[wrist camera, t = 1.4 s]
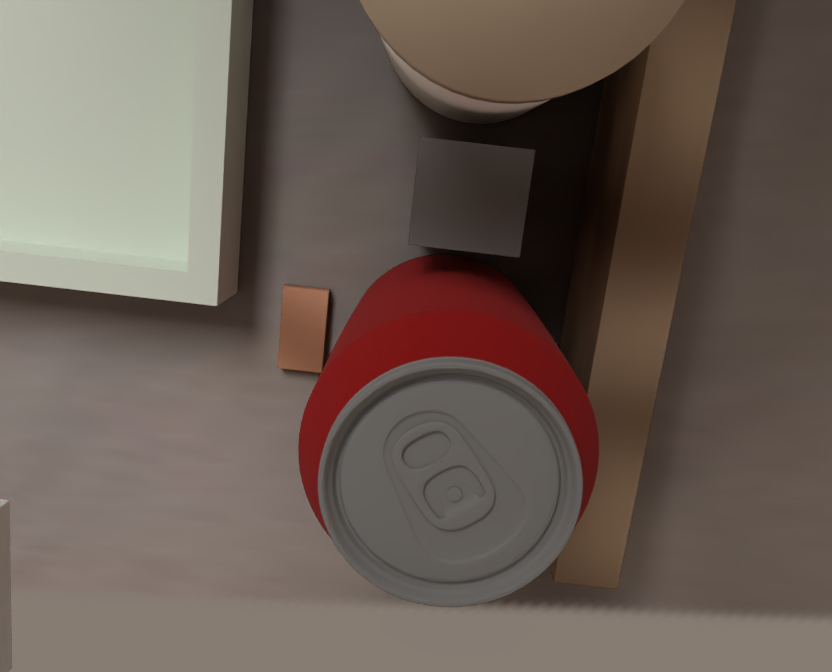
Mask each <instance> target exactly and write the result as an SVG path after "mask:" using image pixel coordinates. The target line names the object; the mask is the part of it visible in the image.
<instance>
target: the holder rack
mask: <svg viewBox="0 0 832 672" xmlns="http://www.w3.org/2000/svg"><path fill="white" fill-rule="evenodd" d="M735 5H736V0H685V1H684V2H683V4H682V5H681V7H680V8H679V10H678V11H677V12H676V14H675V15H674V17H673V18H672V20H671V21H670V22H669V24H668V25H667V26H666V27H665V28H664V29H663V30H662V32H661V33H660V34H659V35H658V36H657V37H656V39H655V40H654V41H653V42H652V43H651V44H649V45H648V46H647V47H646V48H645V49H644V50H643V51H642V52H641V53H639V54H638V55H637V56H636V57H635V58H634V59H632V60H631V61H629V62H628V63H627V64H625V65H624V66H622V67H621V68H620V69H618V70H617V71H615V72H614V73H612V74H610V75H608V76H606V77H604V81H603V87H602V93H601V99H600V105H599V111H598V117H597V123H596V129H595V135H594V141H593V147H592V153H591V159H590V165H589V171H588V177H587V183H586V189H585V195H584V201H583V207H582V213H581V219H580V225H579V231H578V237H577V243H576V249H575V255H574V261H573V267H572V273H571V279H570V285H569V291H568V297H567V303H566V309H565V315H564V321H563V327H562V333H561V339H560V345H559V349H560V350H561V352H562V353H563V355H564V356H565V358H566V360H567V361H568V363H569V364H570V366H571V368H572V369H573V371H574V372H575V374H576V376H577V377H578V379H579V380H580V382H581V384H582V386H583V388H584V390H585V391H586V393H587V396H588V398H589V401H590V403H591V405H592V409H593V412H594V415H595V419H596V424H597V429H598V437H599V462H598V470H597V476H596V481H595V484H594V488H593V491H592V494H591V497H590V499H589V502H588V505H587V507H586V509H585V511H584V513H583V515H582V517H581V518H580V520H579V522H578V523H577V525H576V527H575V528H574V530H573V532H572V534H571V536H570V538H569V540H568V542H567V543H566V545H565V547H564V549H563V550H562V551H561V553H560V554H559V555H558V556H557V558H556V559H555V560H554V561H553V563H552V564H551V565H550V566H549V567H550V570H551V574H552V577H553V581H554V582H558V583H567V584H576V585H584V586H593V587H602V588H611V589H617V587H618V582H619V577H620V572H621V567H622V562H623V557H624V552H625V547H626V542H627V538H628V533H629V528H630V523H631V518H632V513H633V508H634V503H635V498H636V493H637V488H638V483H639V478H640V474H641V469H642V464H643V459H644V454H645V449H646V444H647V439H648V434H649V429H650V424H651V419H652V414H653V409H654V405H655V400H656V395H657V390H658V385H659V380H660V375H661V370H662V365H663V360H664V355H665V350H666V345H667V340H668V336H669V331H670V326H671V321H672V316H673V311H674V306H675V301H676V296H677V291H678V286H679V281H680V276H681V271H682V267H683V262H684V257H685V252H686V247H687V242H688V237H689V232H690V227H691V222H692V217H693V212H694V207H695V203H696V198H697V193H698V188H699V183H700V178H701V173H702V168H703V163H704V158H705V153H706V148H707V143H708V138H709V134H710V129H711V124H712V119H713V114H714V109H715V104H716V99H717V94H718V89H719V84H720V79H721V74H722V69H723V65H724V60H725V55H726V50H727V45H728V40H729V35H730V30H731V25H732V20H733V15H734V10H735ZM534 156H535V150H531V149H522V148H514V147H505V146H497V145H488V144H480V143H471V142H463V141H454V140H445V139H437V138H428V137H420V141H419V150H418V159H417V168H416V177H415V186H414V195H413V204H412V213H411V222H410V231H409V240H408V245H416V246H425V247H433V248H442V249H450V250H459V251H468V252H476V253H485V254H493V255H502V256H510V257H520V251H521V244H522V237H523V230H524V224H525V217H526V210H527V204H528V197H529V190H530V183H531V177H532V170H533V163H534ZM329 297H330V289H322V288H314V287H305V286H296V285H288V284H285V285H284V286H283V297H282V311H281V325H280V339H279V353H278V367H277V368H283V369H292V370H301V371H309V372H318V373H321V372H322V370H323V367H324V355H325V343H326V332H327V320H328V309H329Z"/></svg>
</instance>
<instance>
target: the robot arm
mask: <svg viewBox="0 0 832 672" xmlns="http://www.w3.org/2000/svg"><path fill="white" fill-rule="evenodd" d="M11 632H12V627H11V563H10V501H9V500H3V499H0V672H9V671H10V669H11V668H12V633H11Z"/></svg>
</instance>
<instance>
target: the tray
mask: <svg viewBox="0 0 832 672" xmlns="http://www.w3.org/2000/svg"><path fill="white" fill-rule="evenodd" d="M252 18H253V0H0V281H4V282H13V283H22V284H30V285H39V286H47V287H56V288H65V289H73V290H82V291H91V292H99V293H108V294H116V295H125V296H134V297H142V298H151V299H160V300H168V301H177V302H185V303H194V304H203V305H211V306H218V305H219V304H221V303H222V302H224V301H225V300H227V299H228V298H230V297H231V296H233V295H234V294H236V293H237V288H238V270H239V252H240V234H241V216H242V198H243V180H244V162H245V144H246V126H247V108H248V90H249V72H250V54H251V36H252Z"/></svg>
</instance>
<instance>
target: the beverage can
mask: <svg viewBox="0 0 832 672" xmlns="http://www.w3.org/2000/svg"><path fill="white" fill-rule="evenodd" d="M298 448H299V466H300V473H301V478H302V483H303V486H304V489H305V492H306V495H307V498H308V500H309V503H310V505H311V507H312V509H313V511H314V513H315V515H316V517H317V519H318V521H319V522H320V524H321V525H322V527H323V528H324V530H325V531H326V532H327V534H328V535H329V536H330V538H331V539H332V541H333V542H334V544H335V546H336V547H337V549H338V550H339V552H340V553H341V554H342V556H343V557H344V558H345V559H346V560H347V562H348V563H349V564H350V565H351V566H352V567H353V568H354V569H355V570H356V571H357V572H358V573H359V574H361V575H362V576H363V577H364V578H365V579H367V580H368V581H369V582H371V583H372V584H374V585H375V586H377V587H379V588H380V589H382V590H384V591H386V592H388V593H390V594H392V595H395V596H397V597H399V598H402V599H405V600H408V601H411V602H415V603H419V604H424V605H429V606H439V607H462V606H471V605H477V604H482V603H486V602H489V601H493V600H496V599H499V598H501V597H504V596H506V595H508V594H511V593H513V592H515V591H517V590H519V589H520V588H522V587H524V586H525V585H527V584H528V583H530V582H531V581H533V580H534V579H535V578H537V577H538V576H539V575H540V574H541V573H542V572H544V571H545V570H546V569H547V568H548V567H549V566H550V565H551V564H552V563H553V561H554V560H555V559H556V558H557V556H558V555H559V554H560V553H561V551H562V550H563V549H564V547H565V545H566V543H567V542H568V540H569V538H570V536H571V534H572V532H573V530H574V528H575V527H576V525H577V523H578V522H579V520H580V518H581V517H582V515H583V513H584V511H585V509H586V507H587V505H588V502H589V499H590V497H591V494H592V491H593V488H594V484H595V481H596V476H597V470H598V462H599V437H598V429H597V424H596V419H595V415H594V412H593V409H592V405H591V403H590V401H589V398H588V396H587V393H586V391H585V390H584V388H583V386H582V384H581V382H580V380H579V379H578V377H577V376H576V374H575V372H574V371H573V369H572V368H571V366H570V364H569V363H568V361H567V360H566V358H565V356H564V355H563V353H562V352H561V350H560V349H559V347H558V345H557V344H556V342H555V341H554V339H553V338H552V336H551V335H550V333H549V332H548V330H547V329H546V327H545V326H544V324H543V323H542V321H541V320H540V319H539V317H538V316H537V314H536V313H535V312H534V310H533V309H532V307H531V306H530V305H529V303H528V302H527V301H526V299H525V298H524V297H523V296H522V294H521V293H520V292H519V290H518V289H517V288H516V287H515V286H514V285H513V283H512V282H511V281H510V280H508V279H507V278H506V277H505V276H504V275H502V274H501V273H500V272H498V271H497V270H495V269H494V268H492V267H490V266H488V265H486V264H484V263H482V262H480V261H477V260H475V259H471V258H468V257H463V256H459V255H450V254H438V255H428V256H422V257H418V258H415V259H412V260H409V261H406V262H404V263H402V264H399V265H398V266H396V267H394V268H392V269H391V270H389V271H388V272H386V273H385V274H384V275H382V276H381V277H380V278H379V279H378V280H376V281H375V282H374V283H373V284H372V286H371V287H370V288H369V289H368V290H367V291H366V293H365V294H364V296H363V297H362V299H361V300H360V302H359V304H358V305H357V307H356V309H355V310H354V312H353V314H352V315H351V317H350V319H349V320H348V322H347V324H346V326H345V328H344V329H343V331H342V333H341V335H340V337H339V339H338V341H337V342H336V344H335V346H334V348H333V350H332V352H331V354H330V356H329V358H328V360H327V362H326V364H325V366H324V368H323V370H322V372H321V374H320V377H319V379H318V381H317V383H316V385H315V387H314V389H313V391H312V393H311V395H310V397H309V400H308V402H307V405H306V408H305V411H304V414H303V418H302V422H301V428H300V433H299V446H298Z"/></svg>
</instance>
